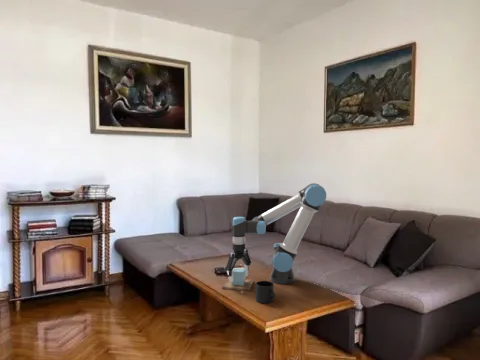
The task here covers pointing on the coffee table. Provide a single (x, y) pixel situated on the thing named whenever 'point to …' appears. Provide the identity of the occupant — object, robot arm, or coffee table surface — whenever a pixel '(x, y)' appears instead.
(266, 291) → the mug
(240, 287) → the post base
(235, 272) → the light blue block
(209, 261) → the coffee table surface
